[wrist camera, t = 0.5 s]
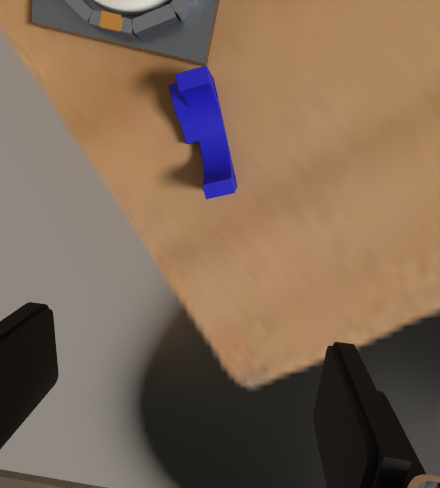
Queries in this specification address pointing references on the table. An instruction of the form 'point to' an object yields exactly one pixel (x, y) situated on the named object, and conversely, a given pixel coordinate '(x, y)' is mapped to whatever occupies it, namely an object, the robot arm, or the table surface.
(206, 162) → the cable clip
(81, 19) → the panel
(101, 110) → the table surface
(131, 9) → the dial
